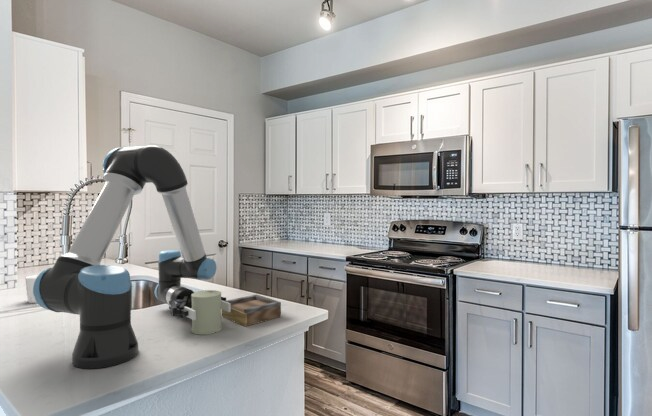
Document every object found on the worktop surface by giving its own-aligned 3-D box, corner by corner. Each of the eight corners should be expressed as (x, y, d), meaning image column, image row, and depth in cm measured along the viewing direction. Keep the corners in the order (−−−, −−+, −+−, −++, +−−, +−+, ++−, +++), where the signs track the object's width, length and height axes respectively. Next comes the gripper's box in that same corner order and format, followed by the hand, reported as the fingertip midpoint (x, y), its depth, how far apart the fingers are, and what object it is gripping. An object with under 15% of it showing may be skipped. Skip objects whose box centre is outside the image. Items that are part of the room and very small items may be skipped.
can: (225, 325, 128) (225, 289, 127) (215, 335, 119) (215, 296, 118) (198, 324, 129) (198, 288, 128) (186, 334, 120) (185, 295, 119)
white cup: (28, 299, 158) (28, 275, 158) (52, 297, 162) (51, 273, 161) (23, 304, 151) (23, 279, 151) (48, 302, 155) (47, 277, 154)
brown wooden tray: (245, 326, 127) (245, 310, 127) (221, 316, 137) (221, 301, 137) (280, 316, 137) (280, 302, 137) (256, 308, 148) (256, 294, 148)
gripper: (212, 302, 145) (245, 315, 129) (146, 316, 128) (175, 332, 113) (212, 282, 144) (245, 292, 129) (146, 293, 128) (175, 306, 112)
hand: (212, 311), depth 121 cm, fingers open, 11 cm apart
